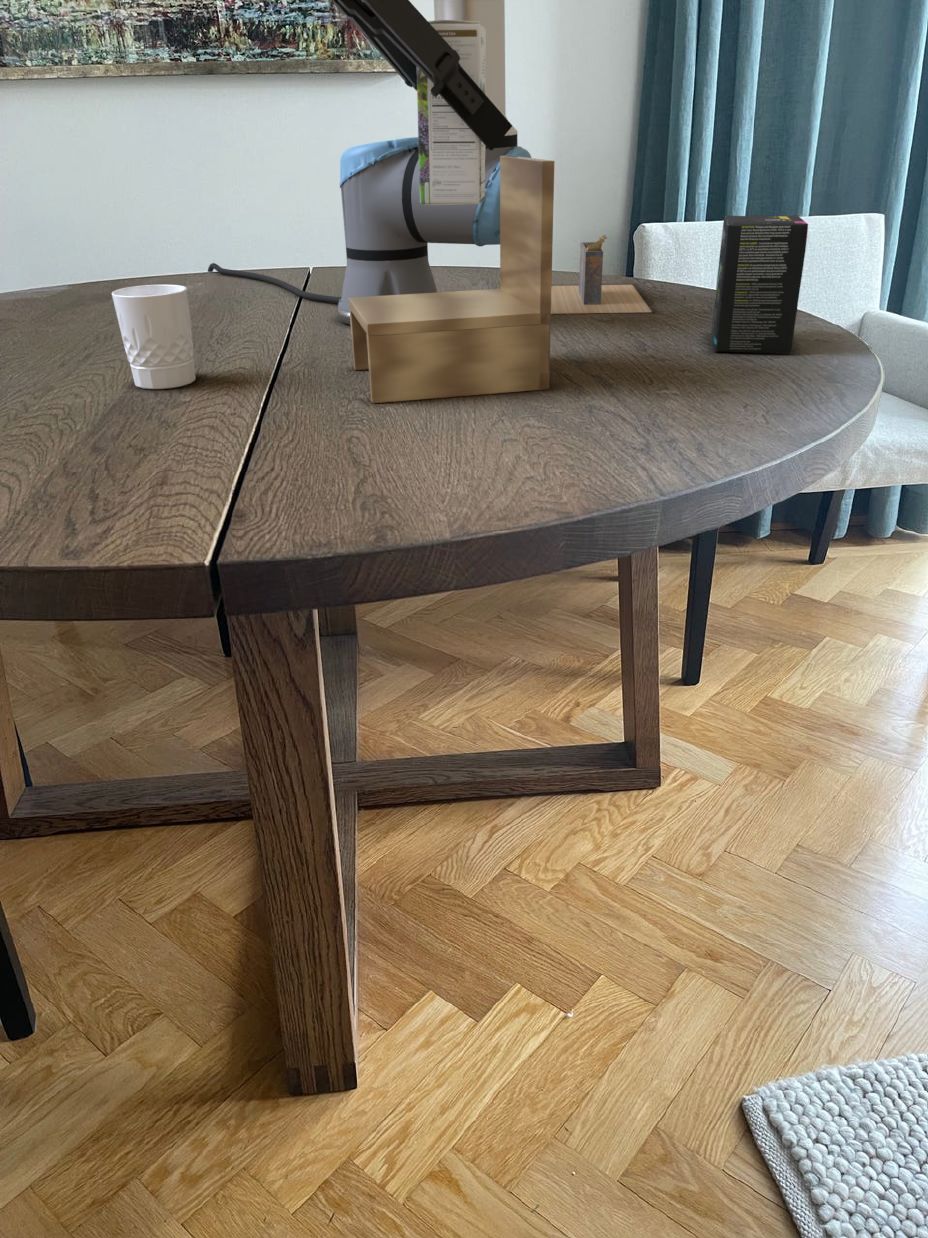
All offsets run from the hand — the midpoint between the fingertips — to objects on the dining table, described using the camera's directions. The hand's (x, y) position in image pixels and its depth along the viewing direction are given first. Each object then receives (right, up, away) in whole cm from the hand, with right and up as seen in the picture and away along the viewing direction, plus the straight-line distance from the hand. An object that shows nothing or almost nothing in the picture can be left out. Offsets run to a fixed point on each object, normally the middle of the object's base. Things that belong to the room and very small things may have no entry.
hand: (490, 136), depth 86 cm
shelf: (-4, -18, +18) cm, 26 cm away
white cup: (-36, -18, +19) cm, 45 cm away
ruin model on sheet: (+18, +6, +62) cm, 64 cm away
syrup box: (-3, -5, +2) cm, 7 cm away
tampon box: (+33, -11, +30) cm, 46 cm away
